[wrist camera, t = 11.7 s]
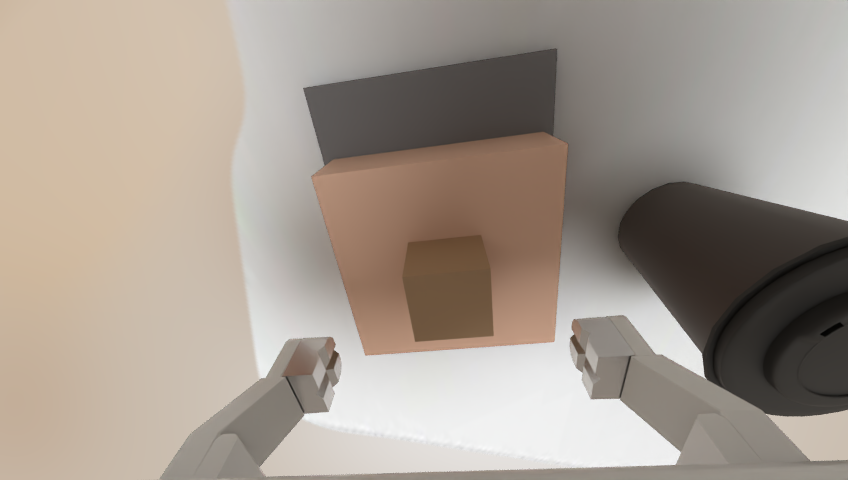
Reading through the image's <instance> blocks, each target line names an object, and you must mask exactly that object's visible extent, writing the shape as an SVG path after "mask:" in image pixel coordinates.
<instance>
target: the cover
mask: <svg viewBox="0 0 848 480" xmlns="http://www.w3.org/2000/svg"><path fill="white" fill-rule="evenodd" d="M567 154H568V143H566V142H564V141H562V140H560V139H558V138H556V137H553V136H551V135H549V134H547V133H545V132H538V133H530V134H523V135H515V136H507V137H500V138H492V139H485V140H477V141H470V142H462V143H454V144H447V145H439V146H432V147H424V148H417V149H409V150H402V151H394V152H386V153H379V154H371V155H364V156H356V157H349V158H341V159H333V160H332V161H331V162H329V163H328V164H327V165H325V166H324V167H323V168H322V169H320V170H319V171H318V172H317V173H315V174H314V175H313V176H311V177H312V181H313V184H314V187H315V191H316V194H317V197H318V200H319V204H320V207H321V210H322V214H323V217H324V220H325V224H326V227H327V230H328V233H329V237H330V240H331V243H332V247H333V250H334V253H335V257H336V260H337V263H338V266H339V270H340V273H341V276H342V280H343V283H344V286H345V290H346V293H347V296H348V299H349V303H350V306H351V309H352V313H353V316H354V319H355V323H356V326H357V329H358V332H359V336H360V339H361V342H362V346H363V349H364V352H365V355H379V354H393V353H407V352H421V351H435V350H449V349H463V348H477V347H491V346H505V345H519V344H533V343H547V342H554V340H555V325H556V311H557V297H558V282H559V268H560V254H561V240H562V225H563V211H564V197H565V182H566V168H567Z"/></svg>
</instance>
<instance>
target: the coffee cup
mask: <svg viewBox="0 0 848 480" xmlns="http://www.w3.org/2000/svg"><path fill="white" fill-rule="evenodd" d="M618 239H619V243H620V248H621V249H622V250H623V252H624V253H625V254H626V256H627V257H628V258H629V260H630V261H631V262H632V263H633V265H634V266H635V267H636V269H637V270H638V271H639V272H640V274H641V275H642V276H643V278H644V279H645V280H646V282H647V283H648V284H649V285H650V287H651V288H652V289H653V291H654V292H655V293H656V294H657V296H658V297H659V298H660V300H661V301H662V302H663V304H664V305H665V306H666V307H667V309H668V310H669V311H670V313H671V314H672V315H673V316H674V318H675V319H676V320H677V322H678V323H679V324H680V326H681V327H682V328H683V329H684V331H685V332H686V333H687V335H688V336H689V337H690V338H691V340H692V341H693V342H694V344H695V345H696V346H697V348H698V349H699V350H700V351H701V353H702V356H703V365H704V374H705V377H706V379H707V380H708V381H710V382H712V383H714V384H715V385H717V386H719V387H721V388H723V389H724V390H726V391H728V392H730V393H732V394H734V395H735V396H737V397H739V398H741V399H743V400H744V401H746V402H748V403H750V404H752V405H753V406H755V407H757V408H759V409H761V410H762V411H763V412H764V413H766V414H770V415H779V416H812V415H822V414H828V413H834V412H839V411H844V410H848V221H845V220H841V219H837V218H833V217H829V216H825V215H821V214H816V213H812V212H808V211H804V210H800V209H796V208H792V207H788V206H784V205H779V204H775V203H771V202H767V201H763V200H759V199H755V198H751V197H747V196H743V195H738V194H734V193H730V192H726V191H722V190H718V189H714V188H710V187H706V186H701V185H697V184H692V183H687V182H679V183H669V184H666V185H663V186H661V187H658V188H655V189H653V190H651V191H649V192H648V193H646V194H645V195H643V196H642V197H640V198H639V199H638V200H637V201H636V202H635V203H634V204H633V205H632V206H631V207H630V208H629V209H628V211H627V212H626V214H625V216H624V218H623V220H622V221H621V223H620V228H619V234H618Z"/></svg>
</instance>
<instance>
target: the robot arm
mask: <svg viewBox="0 0 848 480" xmlns="http://www.w3.org/2000/svg"><path fill="white" fill-rule="evenodd" d="M572 330H573V332H574V335H573V336H572V337H571V338H570V352H571V356H572V360H573V362H574V365H575V367H576V368H577V369H578V370H580V371H581V372H582V373H583V374H582V382H583V384H584V386H585V388H586V390H587V392H588V394H589V396H590V399H620V400H621V401H622V402H623V403H624V404H626V405H627V406H628V407H629V408H630V409H631V410H633V411H634V412H635V413H636V414H637V415H638V416H640V417H641V418H642V419H643V420H644V421H645V422H647V423H648V424H649V425H650V426H651V427H652V428H654V429H655V430H656V431H657V432H658V433H659V434H661V435H662V436H663V437H664V438H665V439H666V440H668V441H669V442H670V443H671V444H672V445H673V446H675V447H676V448H677V449H678V450H679V451H680V452H681V454H680V456H679V459H678V461H677V463H676V465H661V466H626V467H591V468H556V469H524V470H486V471H453V472H418V473H383V474H347V475H312V476H278V477H266V476H265V474H264V473H263V471H262V470H261V469H260V466H261V465H262V464H263V462H264V461H265V460H266V459H267V458H268V457H269V455H270V454H271V453H272V452H273V451H274V450H275V448H276V447H277V446H278V445H279V444H280V443H281V442H282V440H283V439H284V438H285V437H286V436H287V435H288V433H289V432H290V431H291V430H292V429H293V428H294V427H295V425H296V424H297V423H298V422H299V421H300V420H301V418H302V417H303V416H304V414H306V413H319V412H329V410H330V407H331V404H332V400H333V397H334V394H335V393H334V390H333V386H335V385H336V384H337V383H338V382H339V378H340V375H341V358H340V356H339V353H337V352H336V351H334V348H335V345H336V344H335V342H334V340H333V338H332V337H317V338H303V339H289V340H288V341H287V342H286V343H285V345H284V346H283V348H282V350H281V352H280V353H279V355H278V357H277V359H276V361H275V362H274V364H273V366H272V368H271V369H270V371H269V373H268V375H267V377H266V378H261V379H260V380H259V381H257V382H256V383H255V384H254V385H252V386H251V387H250V388H248V389H247V390H246V391H245V392H243V393H242V394H241V395H240V396H238V397H237V398H236V399H234V400H233V401H232V402H231V403H230V404H228V405H227V406H225V407H224V408H223V409H222V410H220V411H219V412H218V413H216V414H215V415H214V416H213V417H211V418H210V419H209V420H207V421H206V422H205V423H204V424H202V425H201V426H200V427H198V428H197V429H196V430H195V431H193V432H192V433H191V434H190V435H189V436H188V438H187V439H186V441H185V442H184V444H183V445H182V446H181V448H180V450H179V451H178V452H177V454H176V455H175V457H174V458H173V460H172V461H171V463H170V464H169V465H168V467H167V468H166V470H165V471H164V473H163V474H162V476H161V477H160V479H159V480H848V460H841V461H839V460H838V461H810V460H809V459H808V458H807V457H806V456H805V455H804V454H803V453H802V452H801V451H800V450H799V448H798V447H797V446H796V445H795V444H794V443H793V442H792V441H791V440H790V439H789V438H788V437H787V436H786V435H785V434H784V433H783V432H782V431H781V430H780V429H779V428H778V427H777V426H776V424H775V423H774V422H773V421H772V420H771V419H770V418H769V417H768V416H767V415H766V414H765V413H764V412H763V411H762V410H761V409H759V408H757V407H755V406H753V405H752V404H750V403H748V402H746V401H744V400H743V399H741V398H739V397H737V396H735V395H734V394H732V393H730V392H728V391H726V390H724V389H723V388H721V387H719V386H717V385H715V384H714V383H712V382H710V381H708V380H706V379H705V378H703V377H701V376H699V375H697V374H696V373H694V372H692V371H690V370H688V369H686V368H685V367H683V366H681V365H679V364H677V363H676V362H674V361H672V360H670V359H668V358H667V357H665V356H663V355H656V354H655V353H654V352H653V350H652V349H651V348H650V347H649V345H648V344H647V343H646V341H645V340H644V339H643V338H642V336H641V335H640V334H639V333H638V331H637V330H636V329H635V327H634V326H633V325H632V324H631V322H630V321H629V320H628V318H627V317H625V316H624V315H619V316H607V317H596V318H583V319H574V320H573V322H572Z"/></svg>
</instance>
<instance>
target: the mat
mask: <svg viewBox="0 0 848 480" xmlns="http://www.w3.org/2000/svg"><path fill="white" fill-rule="evenodd" d="M556 62H557V49H550V50H544V51H538V52H531V53H525V54H518V55H512V56H506V57H499V58H493V59H486V60H480V61H474V62H467V63H461V64H454V65H448V66H442V67H435V68H429V69H423V70H416V71H410V72H403V73H397V74H391V75H384V76H378V77H371V78H365V79H359V80H352V81H346V82H339V83H333V84H327V85H320V86H314V87H308V88H303V89H304V93H305V96H306V100H307V103H308V107H309V111H310V114H311V118H312V121H313V125H314V128H315V132H316V136H317V139H318V143H319V146H320V150H321V154H322V157H323V161H324V164H325V165H327V164H328V163H329V162H331V161H332V160H333V159H341V158H349V157H356V156H364V155H371V154H379V153H386V152H394V151H402V150H409V149H417V148H424V147H432V146H439V145H447V144H454V143H462V142H470V141H477V140H485V139H492V138H500V137H507V136H515V135H523V134H530V133H538V132H545V133H547V134H549V135H551V136H553V125H554V104H555V83H556Z"/></svg>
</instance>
